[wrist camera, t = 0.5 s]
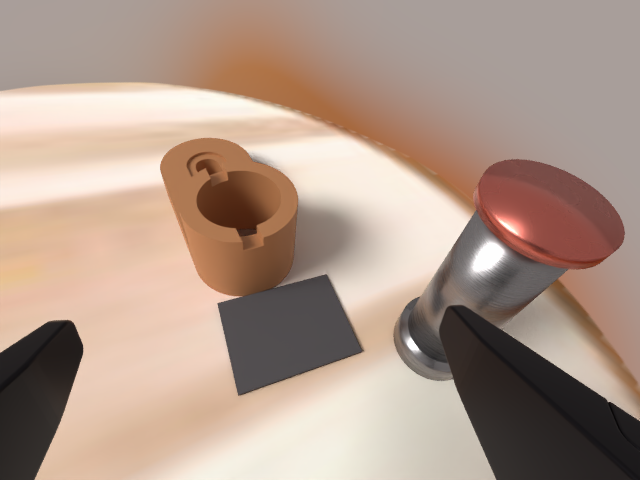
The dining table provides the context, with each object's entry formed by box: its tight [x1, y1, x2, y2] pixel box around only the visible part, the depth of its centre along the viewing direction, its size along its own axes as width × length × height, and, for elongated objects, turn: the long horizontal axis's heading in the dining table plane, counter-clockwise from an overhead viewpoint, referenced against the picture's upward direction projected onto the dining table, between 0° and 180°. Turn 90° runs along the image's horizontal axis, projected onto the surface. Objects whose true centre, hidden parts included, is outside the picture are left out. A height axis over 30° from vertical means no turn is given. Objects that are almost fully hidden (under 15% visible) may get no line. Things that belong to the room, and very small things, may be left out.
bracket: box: [160, 138, 298, 296], centre depth 30 cm, size 18×8×7 cm, turn 28°
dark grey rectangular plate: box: [218, 275, 362, 396], centre depth 26 cm, size 7×9×1 cm
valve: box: [394, 159, 625, 381], centre depth 21 cm, size 6×6×15 cm
